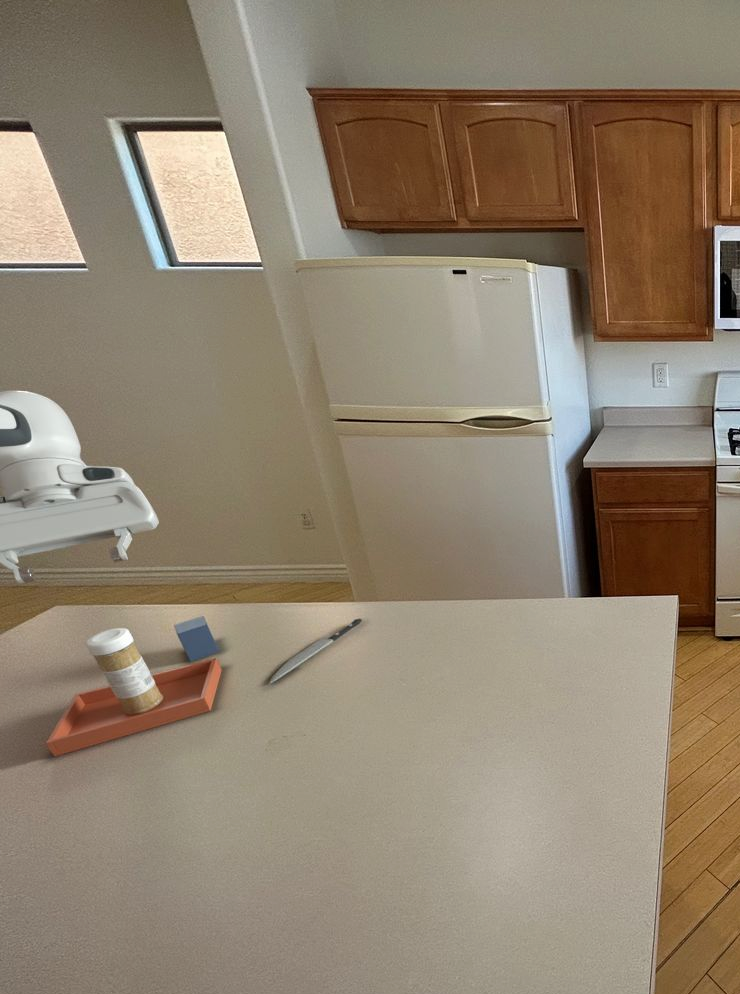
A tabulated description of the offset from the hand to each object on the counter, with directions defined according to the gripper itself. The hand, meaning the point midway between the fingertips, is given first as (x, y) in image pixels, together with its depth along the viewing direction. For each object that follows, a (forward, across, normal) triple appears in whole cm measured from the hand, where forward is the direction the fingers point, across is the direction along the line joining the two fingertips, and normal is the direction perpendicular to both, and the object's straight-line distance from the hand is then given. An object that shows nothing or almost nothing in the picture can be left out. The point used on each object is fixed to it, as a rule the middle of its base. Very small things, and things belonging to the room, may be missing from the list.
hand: (75, 570), depth 81 cm
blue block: (+11, +8, +21) cm, 25 cm away
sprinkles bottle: (+20, +1, +12) cm, 23 cm away
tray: (+20, +1, +12) cm, 24 cm away
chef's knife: (+21, +23, +12) cm, 33 cm away
